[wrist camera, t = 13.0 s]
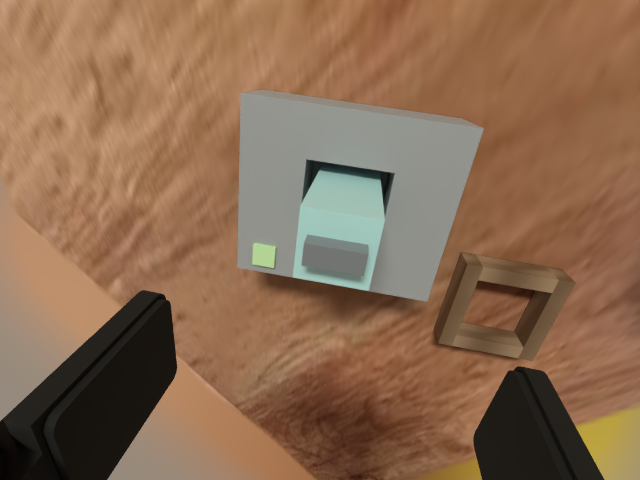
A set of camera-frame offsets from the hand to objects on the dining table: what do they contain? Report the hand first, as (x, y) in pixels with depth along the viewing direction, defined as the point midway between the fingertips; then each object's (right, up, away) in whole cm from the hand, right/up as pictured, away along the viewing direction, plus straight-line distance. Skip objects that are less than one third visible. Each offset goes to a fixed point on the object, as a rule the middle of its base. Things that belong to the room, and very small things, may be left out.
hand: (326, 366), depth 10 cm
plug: (+2, +7, +16) cm, 18 cm away
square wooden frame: (+15, -2, +20) cm, 25 cm away
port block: (+2, +8, +17) cm, 19 cm away
